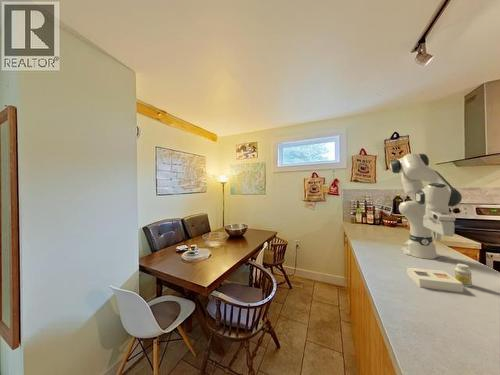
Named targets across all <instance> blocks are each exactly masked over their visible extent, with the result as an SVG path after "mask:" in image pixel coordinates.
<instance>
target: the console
mask: <svg viewBox="0 0 500 375" xmlns="http://www.w3.org/2000/svg"><path fill="white" fill-rule="evenodd" d="M406 270H407V272H406V273H407V275H408V277H410V279H411V280H412V281H413V282H414V283H415V284H416V285H417V286H418V287H419V288H426V289H433V290H440V291H449V292H456V293H464V286H463V284H462V283H461V282H460V281H458V280H457V279H455V276H453V275H451V274H449V272H446V271H445V270H440V269H439V270H437V269H427V268H417V267H416V268H415V267H406ZM415 272H417V273H426V274H427V275H428V276H419V275H417V274H416V273H415ZM436 275H444V276H447V277H448V278H450V279H447V278H438V277H437V276H436ZM429 276H430V277H429Z"/></svg>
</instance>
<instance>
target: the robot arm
mask: <svg viewBox="0 0 500 375" xmlns="http://www.w3.org/2000/svg"><path fill="white" fill-rule="evenodd" d="M429 164H430V158H429V157H428V155H427V154H425V153H418V154H416V153H414V152H412V153H408V154H405V155H404V156H403V157H401V158H397V159H393V160H391V161H390V162H389V169H390V171H391V172H392V173H393V174H400V179H401V185H402V187H403V190H404V194H405V195H406V196H407V197H410V198H411V199H412V200H407V201H402V202H400V204H399V205H398V210H399V213H400V214H401V215H402V216H404V217H405V218H406V219H407V221H408V224H409V232H410V234H409V236H408V240H407V241H405V242H404V243H403V246H402V248H401V249H402V251H403V253H404V254H405V255H408V256H411V257H412V256H413V257H415V258H418V259H419V258H421V259H427V260H429V259H430V260H433V259H436V258H439V257H440V255H439V254H437V250H436V249H437V248H436V244H435V243H433V240H436V241H441V240H442V239H441V238H442V237H453V236H454V235H455V222H456V216H455V215H453V214H452V213H451V211H450V207H452V208H454V207H455V206H457V205H459V204H460V203H461V202H462V200H463V199H462V197H463V196H462V193H461V192H460V191H459V190H458V189H456V188H455V187H453V186H452V185H451V184H450V183H449V182H448V181H447V180H446V179H445V177H444V176H442V175H441V174H440V173H439V172H438V171H437V170H435V169H434V168H430V167H429ZM423 181H424V182H428V184H427V185H426V187H424V184H423Z"/></svg>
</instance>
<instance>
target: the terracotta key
mask: <svg viewBox="0 0 500 375" xmlns="http://www.w3.org/2000/svg"><path fill="white" fill-rule="evenodd" d="M436 276H437V277H438V278H447V279H450V278H448V277H447V276H444V275H436Z"/></svg>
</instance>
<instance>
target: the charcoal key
mask: <svg viewBox="0 0 500 375" xmlns="http://www.w3.org/2000/svg"><path fill="white" fill-rule="evenodd" d="M415 273H416V274H417V275H419V276H428V275H427V274H426V273H417V272H415ZM429 277H430V276H429Z"/></svg>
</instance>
